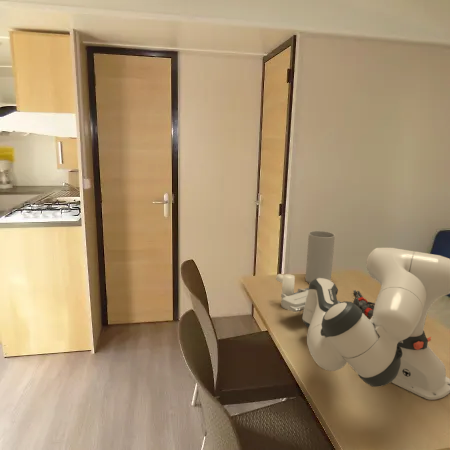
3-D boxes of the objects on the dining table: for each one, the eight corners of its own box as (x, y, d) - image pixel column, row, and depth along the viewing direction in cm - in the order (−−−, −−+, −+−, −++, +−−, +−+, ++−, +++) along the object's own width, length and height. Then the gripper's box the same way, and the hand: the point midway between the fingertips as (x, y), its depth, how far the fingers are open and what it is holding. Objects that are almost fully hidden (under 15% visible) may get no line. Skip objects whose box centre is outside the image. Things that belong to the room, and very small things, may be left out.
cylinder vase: (335, 284, 183) (340, 236, 177) (313, 287, 179) (317, 238, 173) (321, 275, 195) (325, 230, 189) (300, 278, 191) (304, 231, 185)
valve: (392, 326, 148) (355, 318, 149) (375, 301, 173) (343, 294, 174) (397, 312, 146) (359, 304, 148) (378, 289, 172) (346, 282, 173)
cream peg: (295, 307, 158) (297, 277, 155) (286, 310, 155) (288, 279, 152) (281, 300, 165) (283, 270, 162) (273, 302, 162) (274, 273, 159)
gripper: (296, 319, 138) (271, 305, 149) (332, 306, 150) (306, 294, 161) (297, 303, 137) (272, 290, 148) (333, 292, 148) (308, 281, 159)
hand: (290, 292), depth 154 cm, fingers open, 8 cm apart
